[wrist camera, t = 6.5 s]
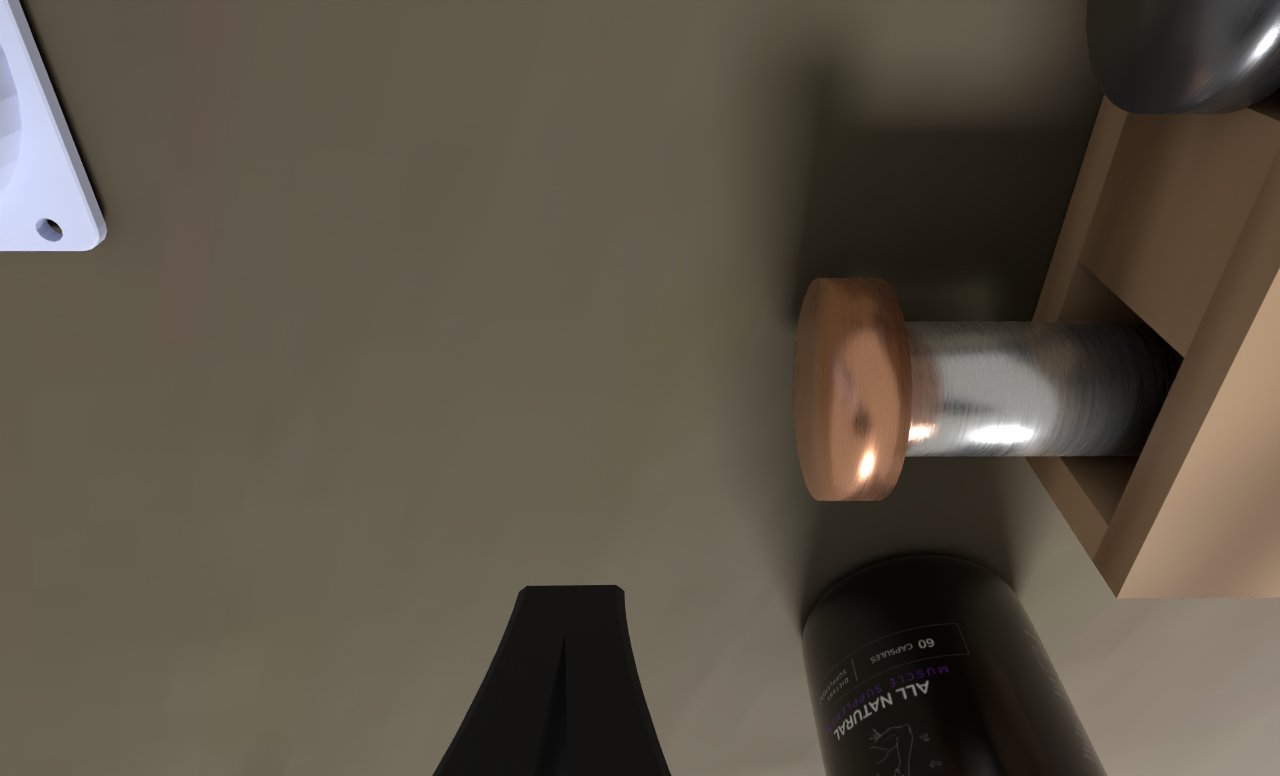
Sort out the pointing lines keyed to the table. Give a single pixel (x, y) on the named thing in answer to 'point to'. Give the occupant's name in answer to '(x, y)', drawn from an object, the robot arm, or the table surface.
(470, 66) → the table surface
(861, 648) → the supplement bottle
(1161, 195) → the catch block
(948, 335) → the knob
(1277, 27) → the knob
